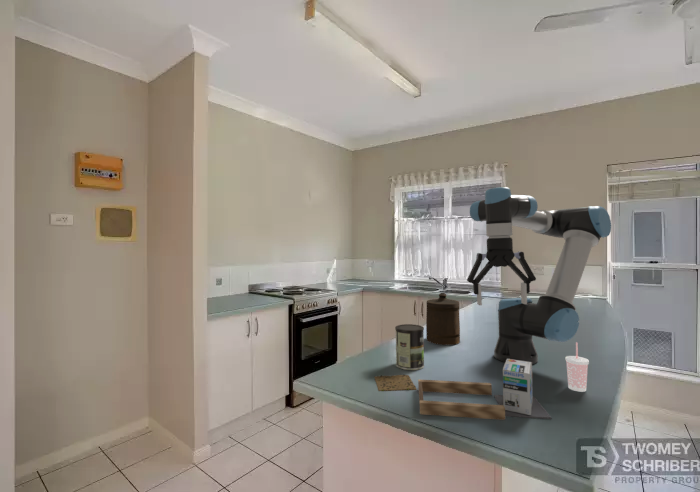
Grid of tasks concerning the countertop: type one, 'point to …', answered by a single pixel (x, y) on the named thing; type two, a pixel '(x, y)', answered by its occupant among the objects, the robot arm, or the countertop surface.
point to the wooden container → (443, 321)
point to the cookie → (394, 383)
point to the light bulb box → (517, 386)
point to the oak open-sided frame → (454, 407)
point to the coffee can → (409, 347)
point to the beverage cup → (577, 372)
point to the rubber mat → (535, 413)
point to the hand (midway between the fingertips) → (501, 304)
